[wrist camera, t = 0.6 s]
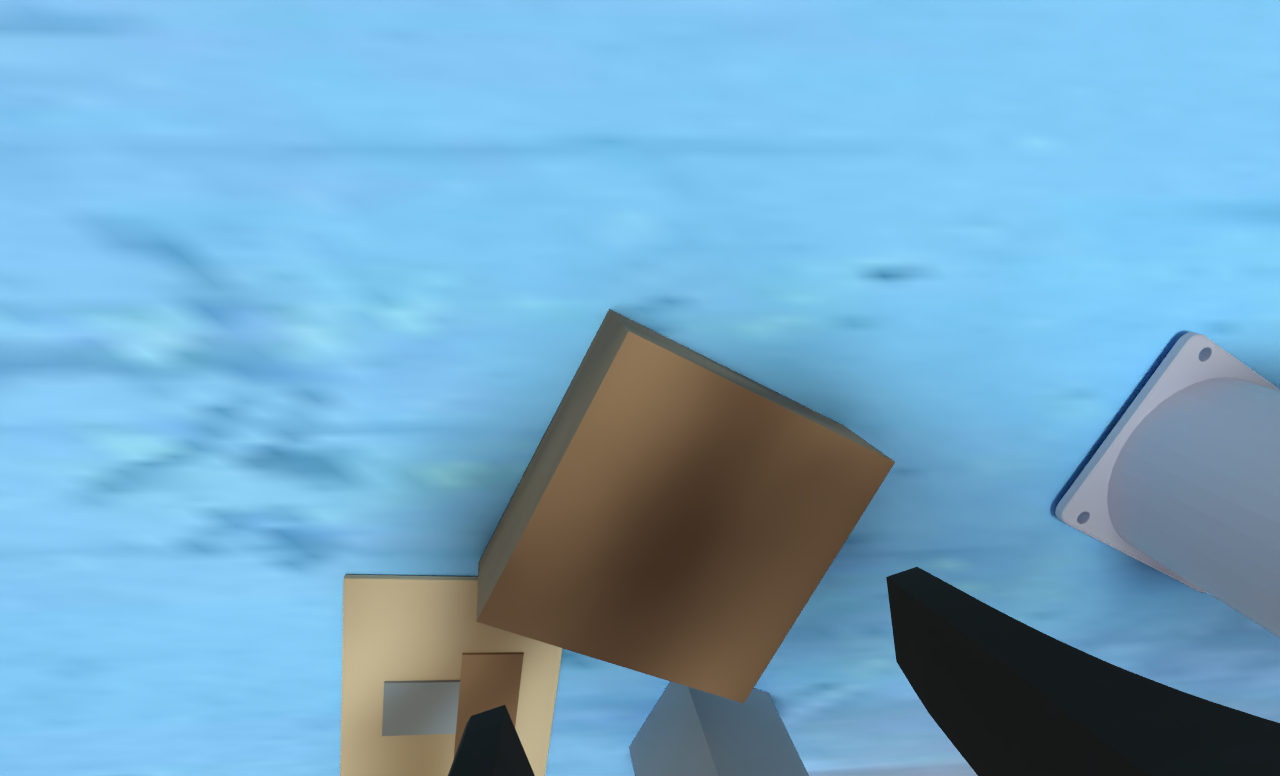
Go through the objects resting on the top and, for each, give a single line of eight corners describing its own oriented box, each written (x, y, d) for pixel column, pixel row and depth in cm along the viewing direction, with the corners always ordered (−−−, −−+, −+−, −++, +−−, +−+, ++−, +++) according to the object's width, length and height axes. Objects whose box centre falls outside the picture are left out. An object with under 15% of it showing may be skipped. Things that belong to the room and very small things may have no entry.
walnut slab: (844, 426, 22) (894, 461, 19) (714, 641, 24) (743, 703, 21) (609, 308, 19) (628, 331, 16) (478, 562, 21) (476, 621, 18)
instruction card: (571, 578, 22) (571, 583, 22) (540, 805, 25) (540, 812, 25) (345, 574, 20) (342, 580, 20) (341, 816, 23) (339, 825, 23)
